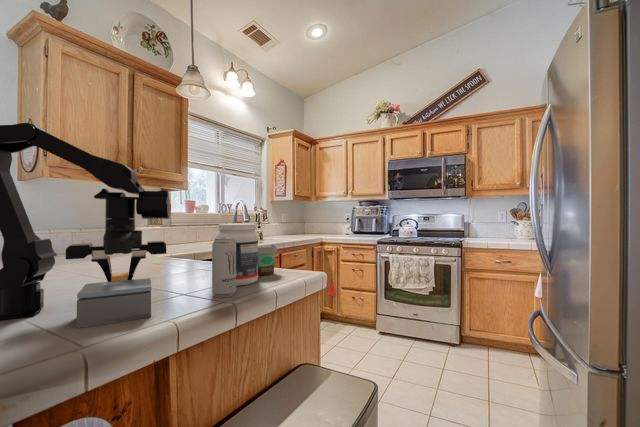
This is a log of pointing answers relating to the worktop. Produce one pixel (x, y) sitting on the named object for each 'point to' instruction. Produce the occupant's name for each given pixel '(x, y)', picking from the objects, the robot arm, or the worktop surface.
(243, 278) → the supplement tub
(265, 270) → the food container
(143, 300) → the parts tub
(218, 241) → the energy drink can
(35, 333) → the worktop surface
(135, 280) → the lid
